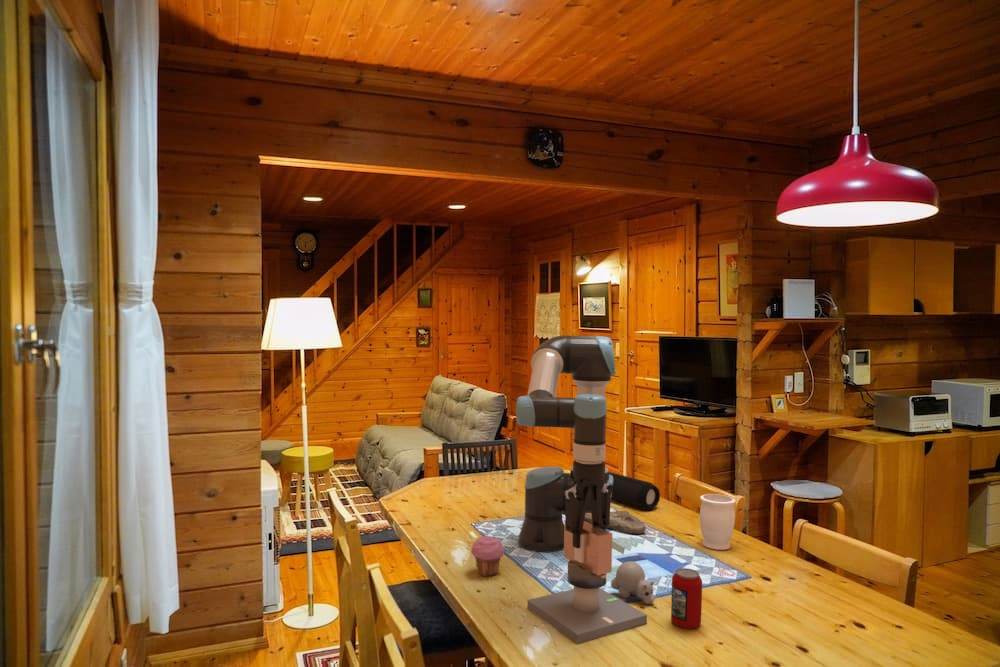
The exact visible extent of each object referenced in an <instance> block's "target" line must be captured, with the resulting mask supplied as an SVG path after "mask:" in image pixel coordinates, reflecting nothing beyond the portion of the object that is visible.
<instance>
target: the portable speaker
mask: <svg viewBox="0 0 1000 667" xmlns="http://www.w3.org/2000/svg"><path fill="white" fill-rule="evenodd" d="M609 475H612V476H613V490H612V496H611V501H615V502H618V503H620V504H624V505H627V506H631V507H635V508H637V509H641V510H644V511H646V510H652V509H654V508H656V507H657V506H658V505H659V502H660V498H661V494H660V493H661V492H660V490H659V488H658V487H657V486H656V485H655V484H653V483H652V482H650V481H646V480H641V479H639V478H638V479H637V478H634V477H630V476H626V475H622V474H618V473H615V472H611V471H609Z"/></svg>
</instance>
